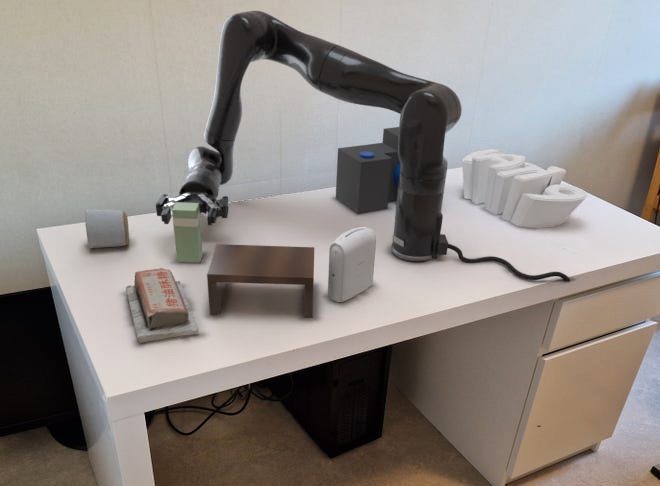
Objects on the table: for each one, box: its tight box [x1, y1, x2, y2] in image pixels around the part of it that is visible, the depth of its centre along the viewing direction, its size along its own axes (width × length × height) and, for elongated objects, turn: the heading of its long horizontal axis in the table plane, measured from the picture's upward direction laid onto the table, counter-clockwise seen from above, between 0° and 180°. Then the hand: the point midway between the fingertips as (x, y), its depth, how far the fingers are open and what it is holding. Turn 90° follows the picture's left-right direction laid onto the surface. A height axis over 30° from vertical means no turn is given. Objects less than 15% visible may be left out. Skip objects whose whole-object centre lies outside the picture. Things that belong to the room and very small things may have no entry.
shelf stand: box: [206, 243, 315, 319], centre depth 119 cm, size 18×12×8 cm, turn 91°
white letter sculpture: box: [461, 148, 588, 229], centre depth 162 cm, size 35×16×11 cm, turn 27°
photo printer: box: [327, 226, 377, 303], centre depth 122 cm, size 10×4×12 cm, turn 140°
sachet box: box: [171, 202, 204, 264], centre depth 131 cm, size 5×4×11 cm
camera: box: [335, 126, 400, 215], centre depth 159 cm, size 25×16×16 cm, turn 119°
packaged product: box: [125, 267, 199, 344], centre depth 115 cm, size 18×5×10 cm
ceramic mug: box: [84, 209, 130, 249], centre depth 136 cm, size 11×8×8 cm
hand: (187, 220), depth 130 cm, fingers open, 8 cm apart
